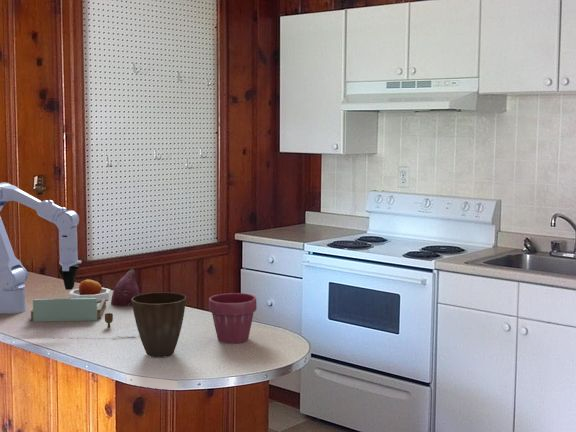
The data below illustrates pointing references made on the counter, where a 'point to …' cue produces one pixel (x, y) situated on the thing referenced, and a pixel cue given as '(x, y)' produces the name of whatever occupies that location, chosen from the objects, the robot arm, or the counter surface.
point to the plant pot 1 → (159, 321)
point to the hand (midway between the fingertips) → (69, 288)
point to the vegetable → (125, 290)
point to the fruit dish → (102, 295)
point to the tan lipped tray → (99, 310)
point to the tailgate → (64, 309)
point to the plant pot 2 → (232, 316)
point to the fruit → (89, 287)
